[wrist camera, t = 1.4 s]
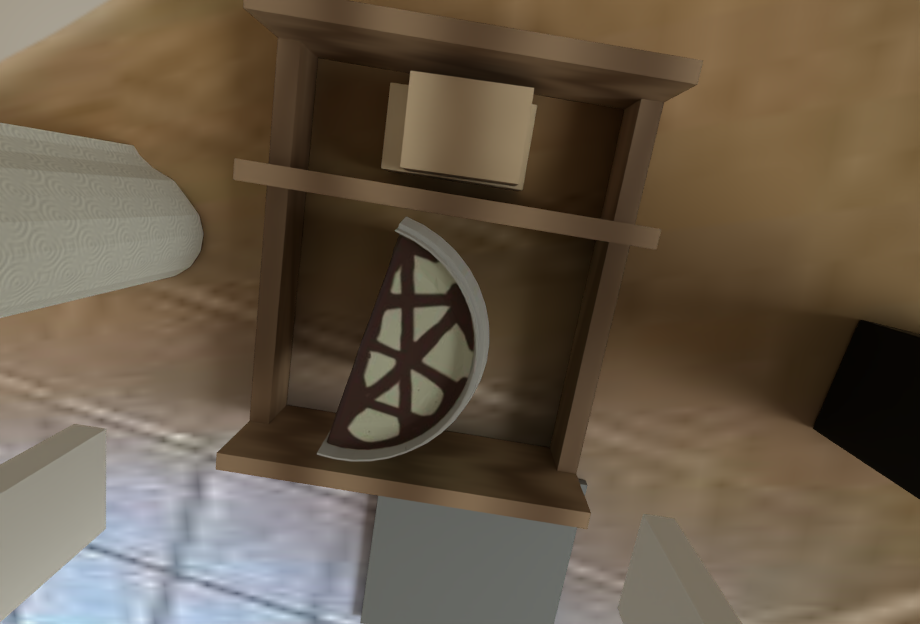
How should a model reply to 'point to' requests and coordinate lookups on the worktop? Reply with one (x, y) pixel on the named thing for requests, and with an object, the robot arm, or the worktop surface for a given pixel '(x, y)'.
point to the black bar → (878, 403)
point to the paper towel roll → (85, 219)
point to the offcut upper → (465, 128)
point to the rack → (473, 57)
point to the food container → (413, 353)
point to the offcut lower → (396, 132)
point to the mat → (463, 566)
